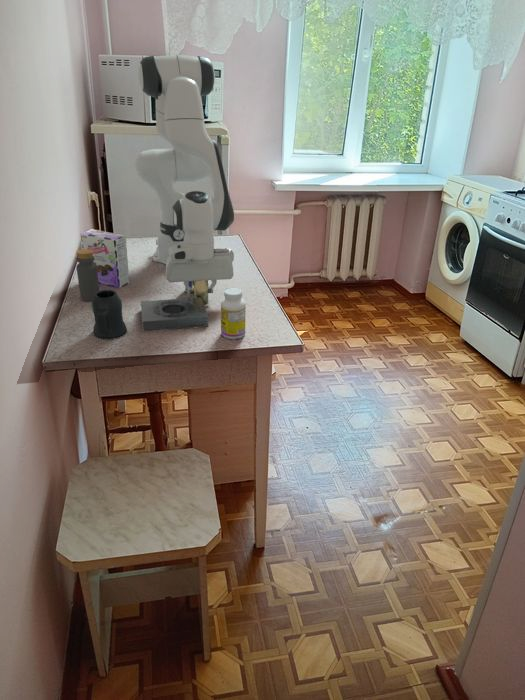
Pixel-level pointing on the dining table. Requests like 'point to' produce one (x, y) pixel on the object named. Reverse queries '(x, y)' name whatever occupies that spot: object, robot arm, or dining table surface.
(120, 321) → the dark grey flared cylinder
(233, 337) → the supplement bottle
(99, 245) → the candy box
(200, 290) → the gold rounded cylinder
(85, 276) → the bottle
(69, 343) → the dining table surface
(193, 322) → the jig
